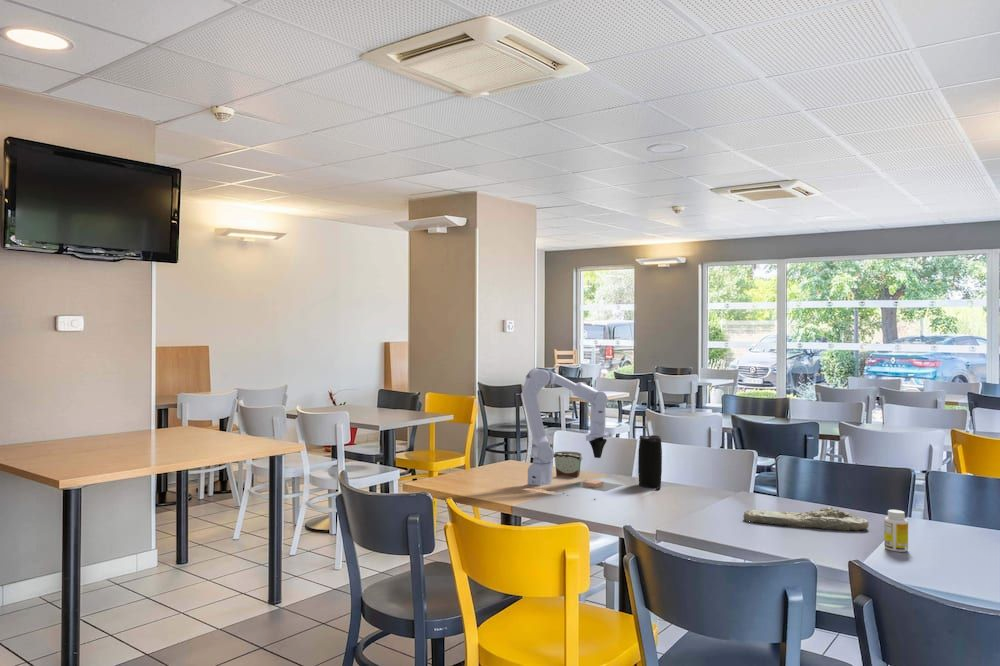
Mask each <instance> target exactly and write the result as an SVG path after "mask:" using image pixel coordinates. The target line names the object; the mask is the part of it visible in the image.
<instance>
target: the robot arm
mask: <svg viewBox="0 0 1000 666" xmlns="http://www.w3.org/2000/svg"><path fill="white" fill-rule="evenodd" d="M548 384H550V385H553V384H556V385H557V386H559V387H563V388H565V389H567V390H570V391H572V394H573V396H574V397H576V398H579V399H581V400H583V401H585V402H587V403H589V404H590V422H589V423H590V426H589V432H590V433H588V434H587V435H585V441H588V442H589V444H590V447H591V449H592V452H593V456H594V458H595V459H596V458H597V459H601V458H602V454H603V450H604V448H605V446H606V445H605V444H606V443H607V438H610V432H609V431H606V406H607V404H608V403H609V399H608V396H607V394H606V393H605V392H604V391H600V390H598V388H597V387H592V386H589V385H588V384H587V382H585V381H582V382H581V381H580V382H576V383H575V382H573V381H572V380H570V379H568V378H566V377H564V376H562V375H560V374H557V373H556V372H553V371H550V370H547V369H542V368H537V367H536V368H535V367H533V368H532V369H530V370H529V372H528V373H527V374H526V375H525V381H524V385H523V388H522V391H521V394H522V398H523V404H524V409H525V412H526V415H527V420H528V425H529V428H530V433H531V438H532V439H531V445H532V447H531V454H532V457H533V460H532V464H530V465H529V466H528V468H527V484H526V486H527V485H528V486H529V485H533V486H538V487H541V486H546V485H551V484H552V483H553V458H555V457H554V454H555V451H554V449H553V448H552V446H551V445H550V441H549V439H548V437H547V436H546V432H545V426H544V424H543V418H542V415H541V412H540V411H541V410H540V406H539V401H538V398H537V396H538V394H539V392H540V391H541V390H542V389H543V388H544V387H546V386H547V385H548Z"/></svg>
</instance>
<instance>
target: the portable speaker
mask: <svg viewBox="0 0 1000 666" xmlns="http://www.w3.org/2000/svg"><path fill="white" fill-rule="evenodd" d="M638 438H639V443H638V456H637V457H638V463H637V464H638V465H637V466H638V469H637V471H638V475H637V476H638V486H639V487H641V488H647V489H654V490H655V491H656V490H657V492H659V491H661V486H662V474H663V473H662V471H663V470H662V469H663V464H662V463H663V450H662V449H663V448H662V447H663V446H662V439H661V436H660V435H656V434H655V435H653V434H652V435H645V436H644V435H639V437H638Z"/></svg>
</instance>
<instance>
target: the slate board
mask: <svg viewBox="0 0 1000 666" xmlns="http://www.w3.org/2000/svg"><path fill="white" fill-rule="evenodd" d="M587 480H588V479H584V480H580V481H577V482H573V483H570V484H567V485H566V487H567V486H568V487H574V488H581V489H586V490H587V489H588V490H594V491H600V492H608V491H611V490H615V489H616V488H619V487H623V486H624V484H618V483H613V482H610V483H609V482H605V481H604V485H603V486H601V487H597V488H593V487H586V486H583V482H584V481H587Z"/></svg>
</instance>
